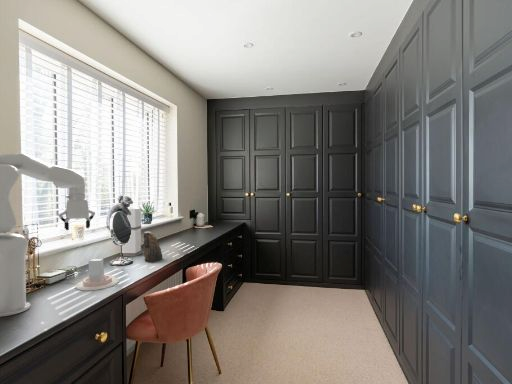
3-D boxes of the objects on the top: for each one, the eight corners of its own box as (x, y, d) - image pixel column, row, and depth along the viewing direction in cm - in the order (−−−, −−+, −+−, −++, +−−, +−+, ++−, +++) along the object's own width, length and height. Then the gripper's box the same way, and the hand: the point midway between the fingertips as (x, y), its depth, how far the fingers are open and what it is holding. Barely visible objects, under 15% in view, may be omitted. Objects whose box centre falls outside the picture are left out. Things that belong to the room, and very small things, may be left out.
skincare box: (104, 281, 159) (104, 258, 159) (101, 284, 154) (100, 260, 154) (92, 281, 158) (92, 258, 158) (88, 284, 154) (88, 260, 153)
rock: (149, 263, 200) (149, 233, 200) (136, 261, 206) (136, 232, 206) (163, 259, 212) (163, 230, 211) (150, 257, 217) (150, 229, 217)
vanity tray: (81, 293, 142) (81, 287, 142) (71, 284, 157) (71, 278, 157) (124, 284, 156) (124, 278, 156) (111, 276, 171) (111, 270, 171)
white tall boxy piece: (141, 252, 232) (141, 207, 232) (135, 256, 221) (135, 208, 221) (127, 252, 232) (126, 207, 232) (120, 256, 222) (119, 208, 221)
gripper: (59, 197, 153) (60, 231, 153) (96, 197, 165) (97, 228, 165) (56, 197, 158) (57, 229, 158) (92, 196, 170) (93, 226, 170)
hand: (77, 228), depth 161 cm, fingers open, 9 cm apart
